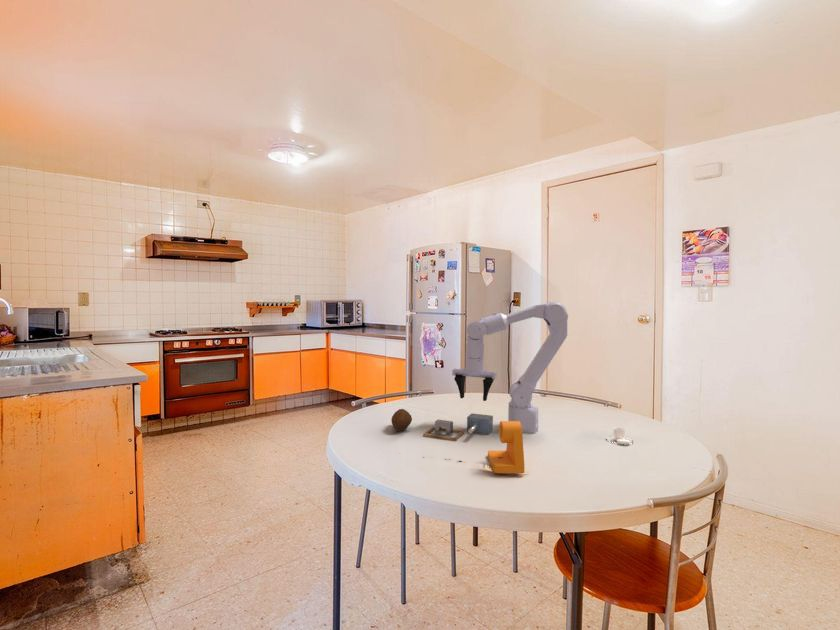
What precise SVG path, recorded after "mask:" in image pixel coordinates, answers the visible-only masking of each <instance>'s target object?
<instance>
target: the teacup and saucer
mask: <svg viewBox="0 0 840 630" xmlns="http://www.w3.org/2000/svg"><path fill="white" fill-rule="evenodd" d="M612 431H613V436H614V438H613V440H614V441H615V440H616V442H614V441H612V443H611V442H610V441H611V440H610V441H609V443H611V444H614V443H615V445H620V444H624V445H623V446H629V445H628V444H630V441H629V440H625V439H624V438H625V431H626V430H625V428H623V427H613V430H612ZM613 442H614V443H613ZM630 445H633V444H632V443H631V444H630Z"/></svg>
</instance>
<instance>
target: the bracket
mask: <svg viewBox="0 0 840 630" xmlns="http://www.w3.org/2000/svg"><path fill="white" fill-rule="evenodd" d="M498 428H499V429H498V431H499V440H500V443H501V444H506V448H505V449H506V450H488V451H487V458H488V460H489V463H490V464H489V468H490V469H491V472H492V473H496V474H525V455H524V454H525V453H524V441H523V440H524V439H523V432H522V426H521V423H520V421H508V420H500V422H499V427H498Z"/></svg>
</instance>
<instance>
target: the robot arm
mask: <svg viewBox="0 0 840 630" xmlns="http://www.w3.org/2000/svg"><path fill="white" fill-rule="evenodd" d="M532 318H535V319H536V318H537V319H543V320H544V321H545V323H546V325H547V329H548V331H549V334H548V336H547V337H546V339H544V340H545V341H544V342H543V344H542V345H541V346H540V347H539V350H538V351H537V353H536V354H535V356H534V357H533V359H532V361H531V362H530V364H529V365H528V367H527V369H526V370H525V371H524V373H523V374H522V375H521V376H519V378H518V380H516V382H514V383H512V384H511V385H510V387H509V389H508V394H509V396H510V398H511V399H510V401H509V402H508V410H507V411H508V413H507V417H508V419H507V421H520V423H521V426H522V433H527V434H529V433H530V434H537V432H538V431H539V407H536V406H533V405H532V403H531V402H532V400H533V399H532V397H533V394H534V392H535V391H536V387H537V383H538V382H539V381H540V379H541V377H542V376H543V374H544V373H545V371H546V370H547V368H548V367H549V365H550V364H551V362H552V360H553V359H554V357H555V356H556V354H557V353H558V352H559V350H560V348H561V347H562V345H563V343H564V342H565V340H566V339H567V336H568V320H569V319H568V318H569V315H568V311H567V309H566V307H565V305H563V303H560V302H557V301H554V302H553V301H549V302H546V303H538V304H533V305H530V306H527V307H525V308H522V309H520V310H516V311H513V312H510V313H509V314H504V313H502V312H498V313H497V311H495V312H492V315H489V316H486V317H479V318H478V320H473V321H471V322H469V323H468V325H467V326H466V333H467V337H466V344H465V345H466V347H465V368H463V369H462V368H453V369H452V371H451V372H452V376H454V378H453V379H454V381H455V383H456V386H457V388H458V391H459V397H460V399H464V398H465V387H466V386H465V385H466V379H467V377H472V378H479V379H480V378H482V379H483V380H482V386H483V393H482V394H483V395H482V401H483V402H485V401H487V400H488V395H489V391H490V389H491V387H492V385H493V383H494V381H495V380H497V378H498V377H497V376H498V373H497V372H493V371H487V370H484V361H485V358H484V356H485V355H484V354H485V353H484V350H485V344H484V336H485V335H486V336H489V335H492V334H495V333H499V332H501V331H505V330H507V328H508V326H509V325H510V324H515V323H517V322H521V321H524V320H528V319H532Z"/></svg>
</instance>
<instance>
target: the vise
mask: <svg viewBox="0 0 840 630" xmlns="http://www.w3.org/2000/svg"><path fill="white" fill-rule="evenodd" d="M493 427H494V415H489V414H482V413H481V414H480V413H471V412H470V414H469V415H468V416H467V417H466V432H467V433H468V434H469V435H471V434H481V435H490V434H491V433H492V432H493V431H494V430H493V429H494V428H493Z"/></svg>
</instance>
